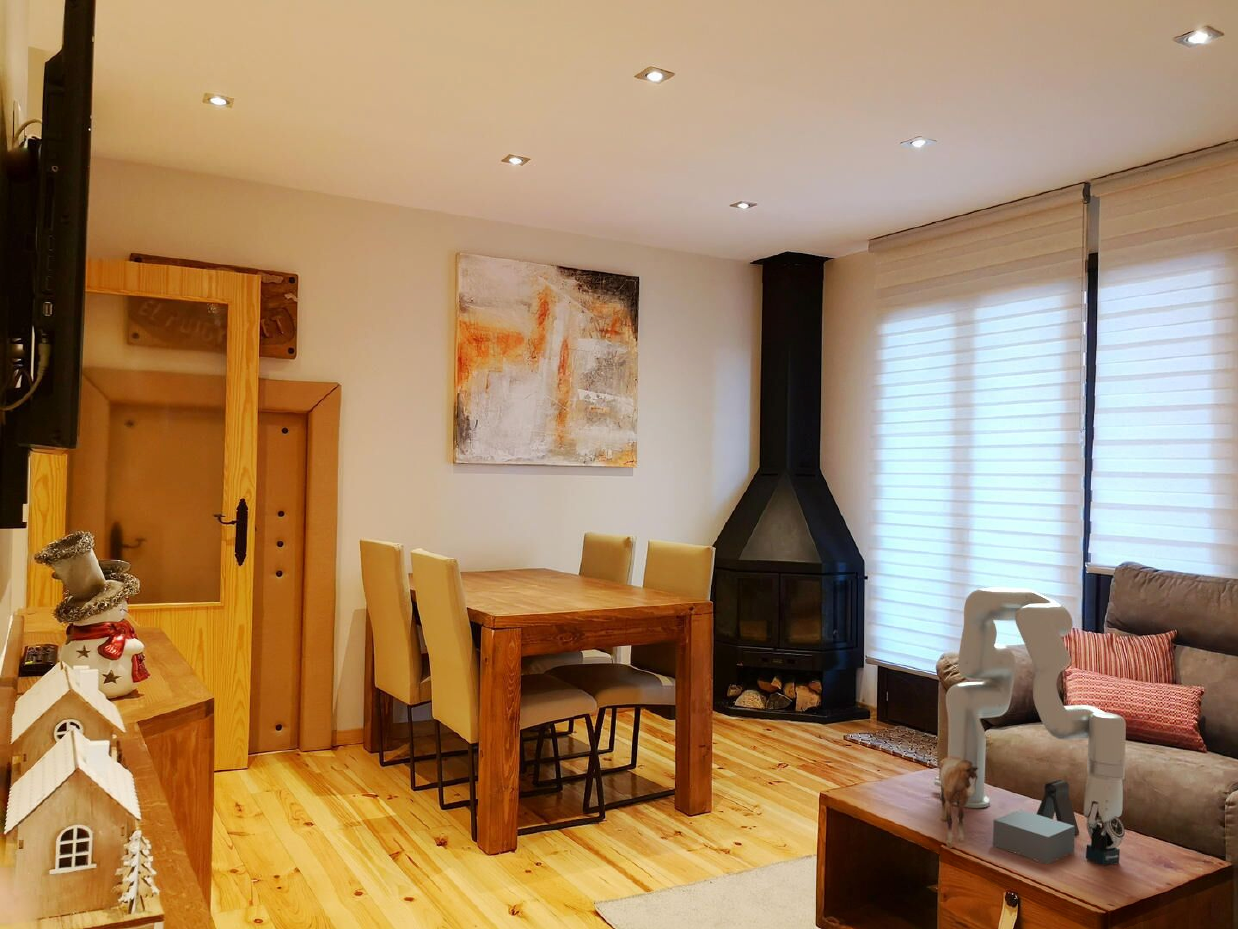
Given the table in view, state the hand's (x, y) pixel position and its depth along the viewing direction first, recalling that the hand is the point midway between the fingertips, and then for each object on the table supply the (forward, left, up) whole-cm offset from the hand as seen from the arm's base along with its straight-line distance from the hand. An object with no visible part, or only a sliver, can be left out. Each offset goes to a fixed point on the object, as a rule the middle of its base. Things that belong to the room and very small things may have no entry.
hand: (1103, 848), depth 215 cm
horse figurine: (-27, -11, -3) cm, 30 cm away
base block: (-13, -6, -3) cm, 15 cm away
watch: (0, 0, -3) cm, 3 cm away
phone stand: (-16, +11, -3) cm, 20 cm away
